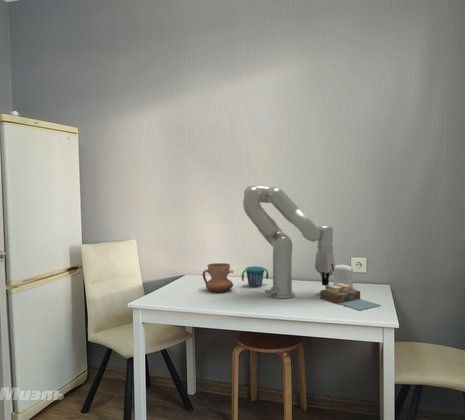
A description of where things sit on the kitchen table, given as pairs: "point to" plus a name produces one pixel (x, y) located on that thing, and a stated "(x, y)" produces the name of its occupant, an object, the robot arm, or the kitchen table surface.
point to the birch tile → (337, 288)
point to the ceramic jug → (218, 277)
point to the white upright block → (343, 275)
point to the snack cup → (254, 275)
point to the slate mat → (359, 304)
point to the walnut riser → (340, 296)
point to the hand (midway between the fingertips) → (325, 284)
